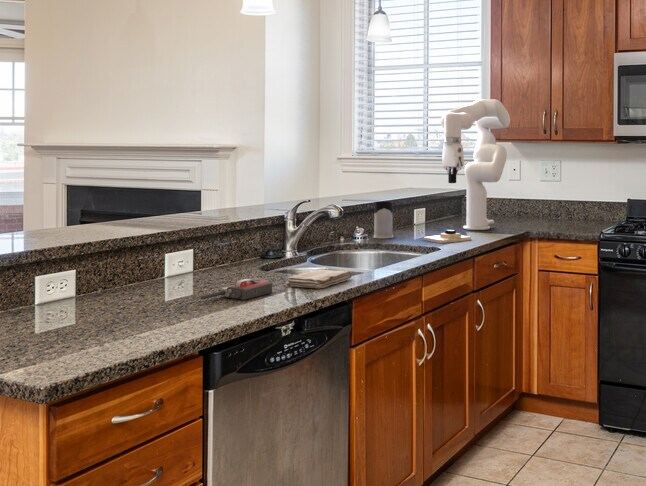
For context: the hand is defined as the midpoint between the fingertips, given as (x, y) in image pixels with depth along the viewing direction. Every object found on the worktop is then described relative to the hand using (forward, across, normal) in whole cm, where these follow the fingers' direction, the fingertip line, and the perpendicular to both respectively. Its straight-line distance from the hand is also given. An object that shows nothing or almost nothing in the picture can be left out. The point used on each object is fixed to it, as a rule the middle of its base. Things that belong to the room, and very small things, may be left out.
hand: (452, 182), depth 326 cm
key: (+21, -12, +11) cm, 26 cm away
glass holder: (+23, +17, +25) cm, 38 cm away
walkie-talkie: (+23, -62, +126) cm, 142 cm away
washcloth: (+23, -58, +100) cm, 118 cm away
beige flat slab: (+23, -10, +11) cm, 27 cm away
